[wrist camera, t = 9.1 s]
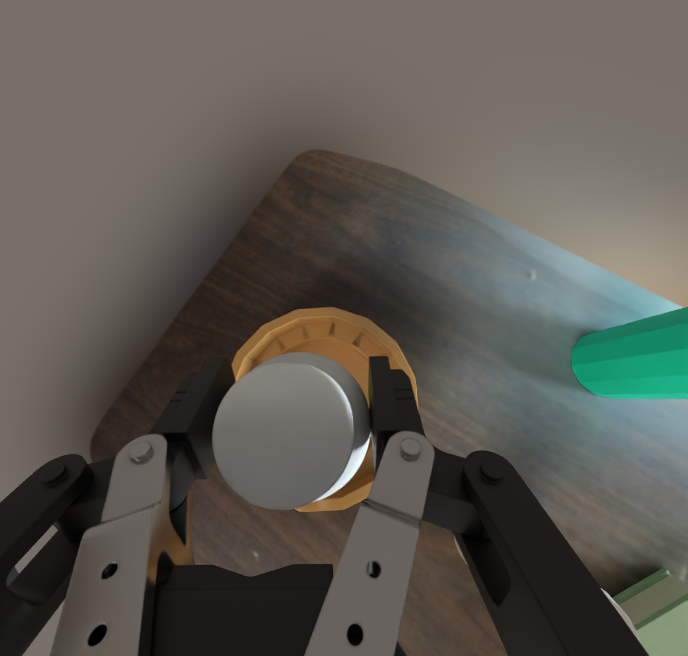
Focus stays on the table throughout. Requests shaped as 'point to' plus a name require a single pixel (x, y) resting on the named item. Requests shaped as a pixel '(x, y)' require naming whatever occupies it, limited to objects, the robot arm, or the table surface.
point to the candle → (636, 359)
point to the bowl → (342, 347)
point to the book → (658, 613)
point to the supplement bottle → (291, 431)
